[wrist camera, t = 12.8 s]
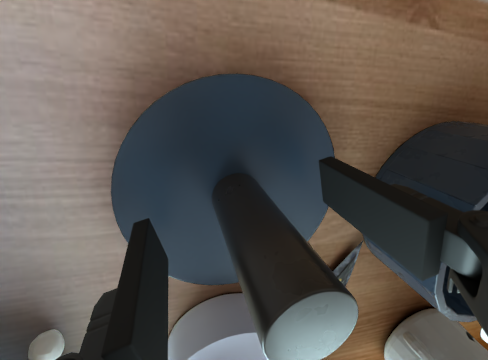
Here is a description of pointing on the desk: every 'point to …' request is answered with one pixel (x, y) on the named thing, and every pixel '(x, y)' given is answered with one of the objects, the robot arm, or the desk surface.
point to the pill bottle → (484, 335)
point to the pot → (440, 194)
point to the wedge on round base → (216, 332)
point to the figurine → (47, 346)
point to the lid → (240, 204)
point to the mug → (432, 339)
